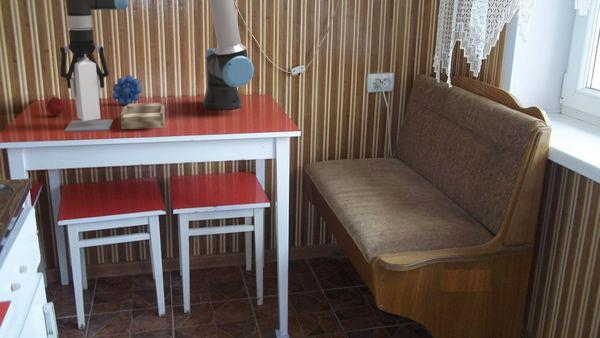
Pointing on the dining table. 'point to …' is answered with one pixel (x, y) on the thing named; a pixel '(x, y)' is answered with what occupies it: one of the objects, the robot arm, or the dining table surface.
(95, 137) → the dining table surface
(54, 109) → the onion
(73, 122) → the plate
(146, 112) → the crate
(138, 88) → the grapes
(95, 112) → the milk
